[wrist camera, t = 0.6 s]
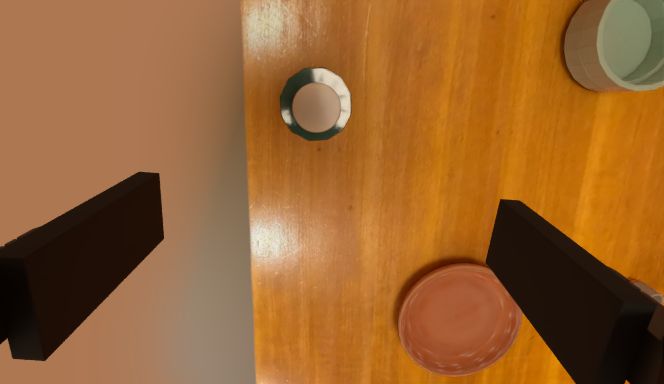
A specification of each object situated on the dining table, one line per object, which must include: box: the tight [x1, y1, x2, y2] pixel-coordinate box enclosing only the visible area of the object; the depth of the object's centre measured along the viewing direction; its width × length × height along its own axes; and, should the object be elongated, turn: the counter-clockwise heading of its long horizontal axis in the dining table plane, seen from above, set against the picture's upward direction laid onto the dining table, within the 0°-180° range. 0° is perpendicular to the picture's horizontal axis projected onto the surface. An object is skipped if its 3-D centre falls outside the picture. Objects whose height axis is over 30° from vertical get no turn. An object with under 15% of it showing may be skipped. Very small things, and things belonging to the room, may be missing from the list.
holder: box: [280, 68, 351, 141], centre depth 40 cm, size 7×7×9 cm
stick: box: [292, 83, 341, 132], centre depth 32 cm, size 3×3×24 cm
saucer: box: [398, 263, 522, 376], centre depth 50 cm, size 16×16×3 cm
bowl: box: [564, 0, 664, 92], centre depth 41 cm, size 11×11×6 cm
